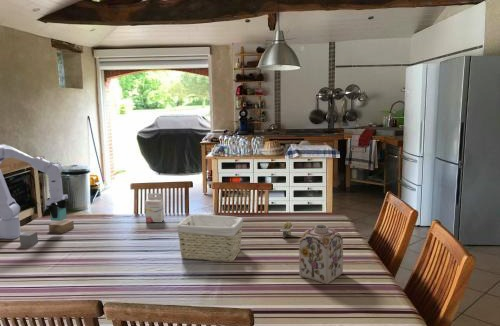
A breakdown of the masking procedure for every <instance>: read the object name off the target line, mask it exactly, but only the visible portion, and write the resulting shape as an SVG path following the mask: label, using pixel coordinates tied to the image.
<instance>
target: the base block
mask: <svg viewBox="0 0 500 326" xmlns="http://www.w3.org/2000/svg"><path fill="white" fill-rule="evenodd" d="M74 228H75V224H74V220H67V219H63V220H61V221H54V222H53V221H52V222H51V223H48V231H49V233H61V234H63V233H65V232H68V231H70V230H73V229H74Z"/></svg>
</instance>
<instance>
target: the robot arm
mask: <svg viewBox="0 0 500 326" xmlns="http://www.w3.org/2000/svg"><path fill="white" fill-rule="evenodd" d="M10 158H14V159H17V160H20V161H22V162H25V163H27V164H29V165H30V166H31V168H33V169H34V170H37V171H40V172H41V173H44V174H46V176H47V177H48V187H49V188H48V189H49V199H47V200H46V201H45V200H44V203H45V207H46V208H47V209H48V210H49V214H50V213H51V215H52V218H57V215H58V213H57V211H58V208H66V209H67V205H68V203H69V194H66V193H65V194H64V190H63V189H64V188H63V179H62V172H63V167H62V166H61V164H59V163H58V162H54V163H53V161H51V160H50V161H49V160H46V159H44V157H43V156H35V157H33V156H31V155H29V154H27V153H25V152H23V151H21V150H19V149H17V148H15V147H13V146H11V145H8V144H5V143H0V165H1V164H2V162H3V161H4V159H10ZM20 212H21V206H20V205H19V204H18V203H17V202H16V199H15V198H13V197H12V195H11V193H10V190H9V187H8V185H7V182H6V180H5V177H4V175H3V171H2V169H1V168H0V239H9V240H10V239H11V240H14V239H16V238H18V237H19V238H20V236H19V235H21V234H23V233H24V232H21V224H20V221H21V220H20V216H19V213H20Z"/></svg>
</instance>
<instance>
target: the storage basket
mask: <svg viewBox="0 0 500 326" xmlns="http://www.w3.org/2000/svg"><path fill="white" fill-rule="evenodd" d="M243 224H244V219H243V217H240V216H239V217H238V216H234V215H233V216H229V215H215V214H214V215H211V214H189V215H188V216H186V217H185V218H184V219H182V220H181V221H180V222H179V223H178V224H177V226H176V232H177V235H178V239H179V240H178V241H179V249H180V250H179V251H180V255H181V256H180V257H181V258H182V259H187V260H203V261H210V262H227V263H228V262H229V263H230V262H231V263H232V262H234V260H236V258H237V256H238V255H239V253H240V251H241V248H242V247H241V246H242V235H243V234H242V229H243V227H242V225H243Z"/></svg>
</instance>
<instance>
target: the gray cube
mask: <svg viewBox="0 0 500 326" xmlns="http://www.w3.org/2000/svg"><path fill="white" fill-rule="evenodd" d="M22 233H23V234H21V235H19V243H20V244H19V245H20V246H21V247H33V246H34V245H36V244H38V243H39V238H38V232H37V231H25V232H22Z"/></svg>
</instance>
